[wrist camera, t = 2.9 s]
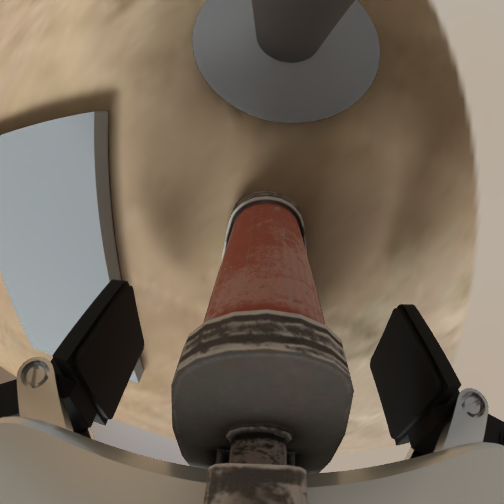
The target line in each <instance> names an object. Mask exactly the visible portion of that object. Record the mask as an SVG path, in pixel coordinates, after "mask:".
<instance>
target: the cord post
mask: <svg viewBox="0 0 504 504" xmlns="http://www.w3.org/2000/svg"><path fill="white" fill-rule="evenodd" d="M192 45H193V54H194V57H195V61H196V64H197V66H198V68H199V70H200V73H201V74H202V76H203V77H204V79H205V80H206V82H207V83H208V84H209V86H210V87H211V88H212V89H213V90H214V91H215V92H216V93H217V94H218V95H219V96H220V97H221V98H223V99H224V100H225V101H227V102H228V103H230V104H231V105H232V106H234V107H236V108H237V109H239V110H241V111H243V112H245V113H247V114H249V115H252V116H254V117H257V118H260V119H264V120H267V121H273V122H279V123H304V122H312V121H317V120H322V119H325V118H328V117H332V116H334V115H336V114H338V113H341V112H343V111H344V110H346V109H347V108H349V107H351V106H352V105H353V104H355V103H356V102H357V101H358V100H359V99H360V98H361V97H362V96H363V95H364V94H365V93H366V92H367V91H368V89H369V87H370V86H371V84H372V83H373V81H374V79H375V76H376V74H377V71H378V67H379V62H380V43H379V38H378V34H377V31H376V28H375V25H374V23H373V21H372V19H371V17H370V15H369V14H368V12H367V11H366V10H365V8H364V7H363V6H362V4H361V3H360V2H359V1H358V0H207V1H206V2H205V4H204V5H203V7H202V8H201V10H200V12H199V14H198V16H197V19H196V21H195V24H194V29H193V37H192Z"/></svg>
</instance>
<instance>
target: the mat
mask: <svg viewBox="0 0 504 504" xmlns="http://www.w3.org/2000/svg"><path fill="white" fill-rule="evenodd" d="M0 271H1V274H2V277H3V280H4V283H5V286H6V288H7V291H8V294H9V296H10V299H11V301H12V304H13V306H14V309H15V311H16V313H17V316H18V318H19V320H20V322H21V325H22V327H23V329H24V331H25V333H26V335H27V337H28V339H29V341H30V343H31V345H32V347H33V348H35V349H37V350H39V351H42V352H44V353H47V354H49V355H53V354H54V352H55V351H56V350H57V348H58V347H59V345H60V344H61V343H62V341H63V340H64V339H65V337H66V336H67V335H68V333H69V332H70V331H71V329H72V328H73V327H74V325H75V324H76V323H77V321H78V320H79V319H80V318H81V316H82V315H83V314H84V312H85V311H86V310H87V309H88V307H89V306H90V305H91V304H92V302H93V301H94V300H95V299H96V298H97V296H98V295H99V294H100V293H101V291H102V290H103V289H104V288H105V287H106V285H107V284H108V283H109V282H110V281H111V280H113V279H115V280H121V276H120V270H119V264H118V258H117V251H116V245H115V237H114V229H113V221H112V211H111V200H110V187H109V168H108V111H94V112H88V113H83V114H77V115H72V116H67V117H63V118H58V119H54V120H50V121H46V122H42V123H38V124H35V125H31V126H27V127H24V128H21V129H17V130H14V131H11V132H8V133H5V134H2V135H0ZM143 371H144V370H143V366H142V363H141V360H140V357H139V359H138V361H137V364H136V366H135V368H134V370H133V372H132V375H131V377H130V379H129V381H133V382H137V383H139V381H140V379H141V376H142V374H143Z"/></svg>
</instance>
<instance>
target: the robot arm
mask: <svg viewBox="0 0 504 504" xmlns="http://www.w3.org/2000/svg"><path fill="white" fill-rule="evenodd" d="M143 348H144V339H143V335H142V331H141V326H140V321H139V317H138V312H137V307H136V302H135V296H134V291H133V288H132V286H129V283H128V282H127V281H121V280H115V279H113V280H111V281H110V282H109V283H108V284H107V285H106V287H105V288H104V289H103V290H102V291H101V293H100V294H99V295H98V296H97V298H96V299H95V300H94V301H93V302H92V304H91V305H90V306H89V307H88V309H87V310H86V311H85V312H84V314H83V315H82V316H81V318H80V319H79V320H78V321H77V323H76V324H75V325H74V327H73V328H72V329H71V331H70V332H69V333H68V335H67V336H66V337H65V339H64V340H63V341H62V343H61V344H60V345H59V347H58V348H57V350H56V351H55V352H54V354H53V355H52V356H53V359H52V360H51V362H50V361H49V360H48V359H46V358H43V357H33V358H31V359H28V360H27V361H26V362H24V363H23V364H22V365H21V367H20V368H19V370H18V372H17V379H16V380H13V381H9V382H6V383H3V384H0V504H203V501H204V495H205V488H206V482H207V475H208V469H203V468H197V467H191V466H185V465H180V464H176V463H171V462H166V461H162V460H157V459H154V458H150V457H146V456H142V455H139V454H135V453H132V452H128V451H126V450H122V449H119V448H116V447H113V446H110V445H107V444H104V443H101V442H98V441H96V440H95V438H94V435H93V432H92V430H91V425H92V423H93V421H94V422H97V423H100V424H102V425H106V423H107V420H108V419H112V418H113V416H114V413H115V411H116V409H117V406H118V404H119V402H120V399H121V397H122V395H123V392H124V390H125V388H126V386H127V383H128V381H129V379H130V377H131V375H132V372H133V370H134V368H135V366H136V364H137V361H138V359H139V357H140V355H141V353H142V351H143ZM370 368H371V371H372V374H373V377H374V380H375V383H376V387H377V390H378V393H379V396H380V400H381V403H382V407H383V410H384V414H385V417H386V421H387V424H388V428H389V432H390V435H391V437H392V438H393V439H395V442H396V445H401V444H405V443H409V442H410V444H411V448H410V450H409V452H408V454H407V456H406V458H405V460H403V461H399V462H394V463H390V464H385V465H380V466H374V467H369V468H363V469H356V470H348V471H341V472H330V473H316V474H306V477H307V502H308V504H504V422H503V421H501V420H499V419H497V418H495V417H493V416H491V415H490V414H488V403H487V401H486V399H485V397H484V396H483V395H482V394H481V393H480V392H479V391H477V390H475V389H472V388H467V389H464V390H462V391H461V392H459V390H458V389H459V387H460V386H461V383H460V381H459V379H458V378H457V376H456V374H455V372H454V370H453V368H452V366H451V364H450V363H449V361H448V359H447V357H446V356H445V354H444V352H443V350H442V349H441V347H440V345H439V343H438V342H437V340H436V338H435V337H434V335H433V333H432V332H431V330H430V329H429V327H428V325H427V324H426V322H425V321H424V319H423V317H422V316H421V314H420V313H419V311H418V310H417V308H416V307H415V306H414V305H406V304H401V305H399V306H398V307H397V308H395V309H394V310H393V312H392V314H391V317H390V319H389V321H388V324H387V326H386V328H385V331H384V333H383V335H382V337H381V339H380V342H379V344H378V346H377V348H376V350H375V352H374V354H373V356H372V358H371V361H370Z"/></svg>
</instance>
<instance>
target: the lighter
mask: <svg viewBox="0 0 504 504" xmlns="http://www.w3.org/2000/svg"><path fill="white" fill-rule="evenodd" d="M171 387H172V425H173V431H174V434H175V437H176V440H177V442H178V445H179V448H180V451H181V454H182V456H183V457H184V459H185V460H186V461H187V462H188V464H189V465H190V466H191V467H197V468H203V469H208V475H207V482H206V488H205V495H204V501H203V504H308V502H307V477H306V474H316V473H319V472H320V471H321V470H322V469H323V468H324V467H325V466H326V465H327V464H328V463H329V462H330V461H331V460H332V458H333V456H334V454H335V452H336V450H337V449H338V447H339V445H340V443H341V441H342V439H343V437H344V435H345V432H346V428H347V423H348V419H349V414H350V409H351V404H352V398H353V393H354V390H353V385H352V381H351V377H350V373H349V369H348V365H347V361H346V357H345V354H344V350H343V346H342V343H341V340H340V339H339V338H338V337H337V336H336V335H335V334H334V333H333V332H332V331H331V330H330V329H329V328H328V327H327V326H326V325H325V322H324V318H323V313H322V309H321V305H320V301H319V298H318V294H317V290H316V286H315V282H314V278H313V275H312V271H311V267H310V264H309V260H308V256H307V245H306V235H305V226H304V222H303V219H302V217H301V214H300V211H299V208H298V207H297V205H296V204H295V203H294V202H293V201H292V200H291V199H290V198H288V197H286V196H284V195H283V194H281V193H277V192H271V191H261V192H254V193H252V194H250V195H247V196H245V197H243V198H242V199H241V200H240V201H239V202H238V203H237V204H236V205H235V207H234V209H233V212H232V214H231V216H230V219H229V222H228V227H227V232H226V237H225V243H224V248H223V254H222V259H221V266H220V270H219V273H218V276H217V279H216V283H215V286H214V289H213V292H212V296H211V299H210V302H209V306H208V309H207V313H206V316H205V319H204V323H203V324H202V325H201V326H199V327H198V328H197V329H195V330H194V331H193V332H192V333H190V334H189V336H188V338H187V341H186V343H185V346H184V348H183V351H182V354H181V357H180V360H179V363H178V366H177V369H176V372H175V375H174V378H173V382H172V385H171Z"/></svg>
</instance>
